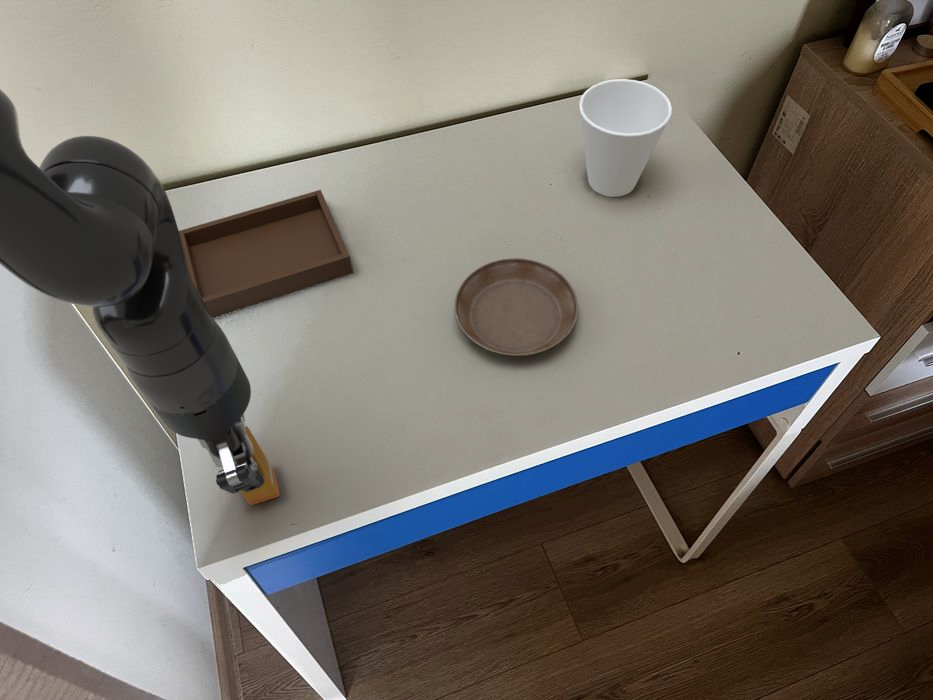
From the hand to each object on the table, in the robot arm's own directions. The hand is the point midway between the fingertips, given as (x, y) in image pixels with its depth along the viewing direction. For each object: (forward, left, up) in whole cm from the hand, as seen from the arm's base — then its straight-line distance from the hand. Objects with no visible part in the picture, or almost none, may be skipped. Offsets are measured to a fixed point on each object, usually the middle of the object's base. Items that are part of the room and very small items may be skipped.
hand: (248, 466), depth 70 cm
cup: (+57, +27, -5) cm, 63 cm away
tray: (+8, +32, -5) cm, 33 cm away
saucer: (+34, +10, -5) cm, 36 cm away
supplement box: (0, 0, -5) cm, 5 cm away
